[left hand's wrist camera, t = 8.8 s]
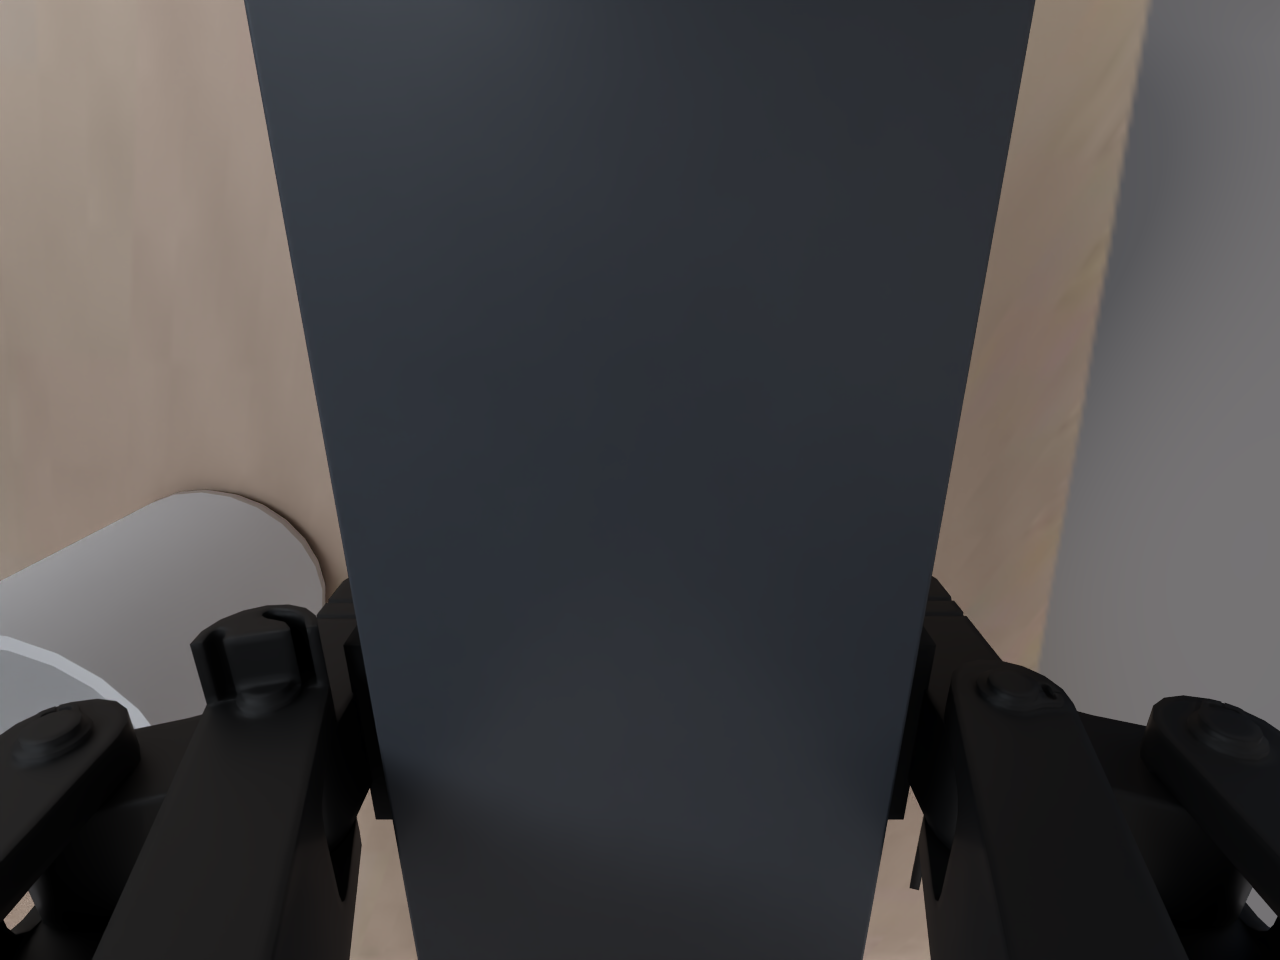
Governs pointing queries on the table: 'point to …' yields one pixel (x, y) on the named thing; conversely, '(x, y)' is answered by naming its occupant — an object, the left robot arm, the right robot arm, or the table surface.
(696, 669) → the bar
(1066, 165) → the table surface
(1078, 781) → the left robot arm
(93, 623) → the mug
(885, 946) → the table surface
